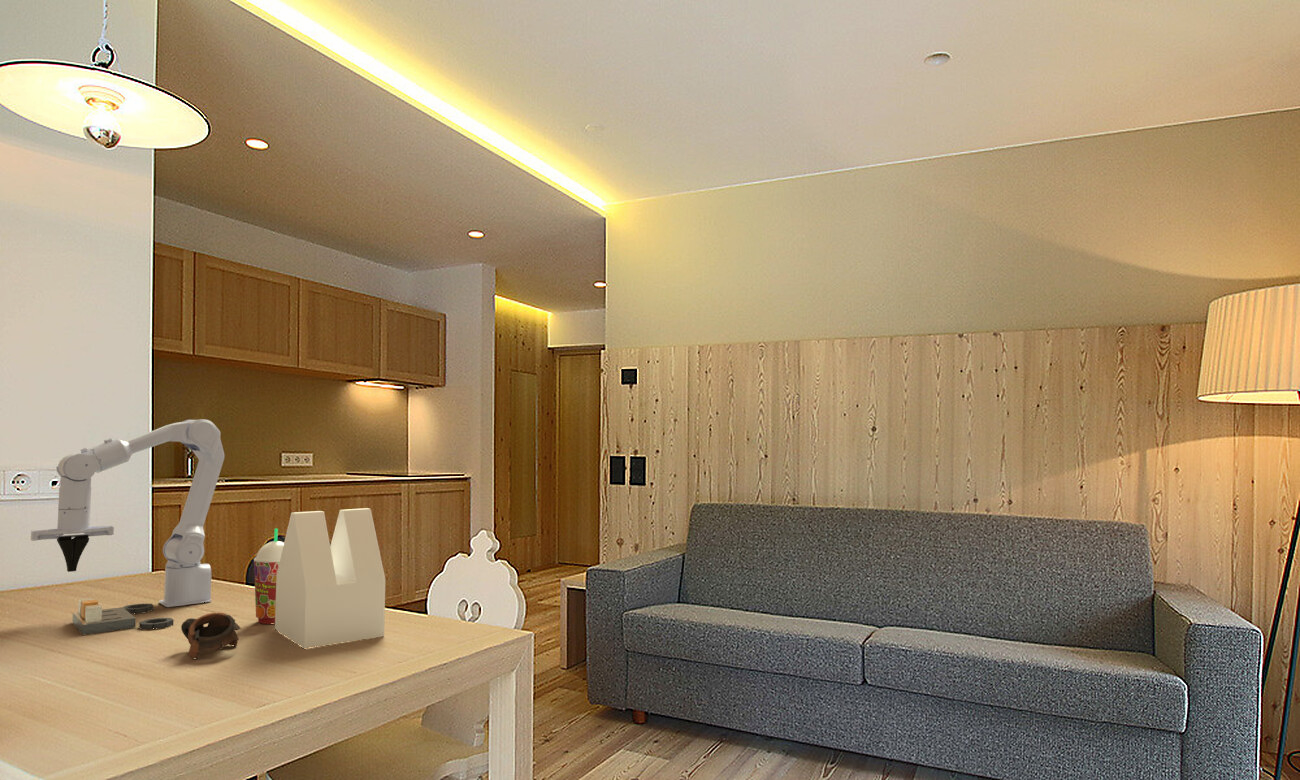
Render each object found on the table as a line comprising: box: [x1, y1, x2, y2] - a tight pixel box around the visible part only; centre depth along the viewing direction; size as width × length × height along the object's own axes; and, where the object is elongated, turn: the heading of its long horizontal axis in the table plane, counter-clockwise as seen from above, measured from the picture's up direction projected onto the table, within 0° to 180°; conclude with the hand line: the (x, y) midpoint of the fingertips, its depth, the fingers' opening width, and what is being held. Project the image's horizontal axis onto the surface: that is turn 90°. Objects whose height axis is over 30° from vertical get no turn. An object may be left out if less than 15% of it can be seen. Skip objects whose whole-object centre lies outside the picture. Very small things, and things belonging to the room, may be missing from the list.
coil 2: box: [138, 617, 174, 630], centre depth 164 cm, size 6×6×1 cm
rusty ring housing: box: [180, 612, 241, 659], centre depth 145 cm, size 12×10×8 cm
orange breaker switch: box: [81, 599, 99, 618], centre depth 163 cm, size 2×3×3 cm
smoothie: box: [253, 528, 284, 625], centre depth 170 cm, size 8×8×20 cm
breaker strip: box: [72, 597, 137, 636], centre depth 165 cm, size 9×14×5 cm, turn 43°
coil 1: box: [122, 603, 154, 615], centre depth 178 cm, size 6×6×1 cm
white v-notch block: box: [274, 507, 386, 648], centre depth 160 cm, size 19×15×25 cm
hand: (71, 570), depth 171 cm, fingers closed
